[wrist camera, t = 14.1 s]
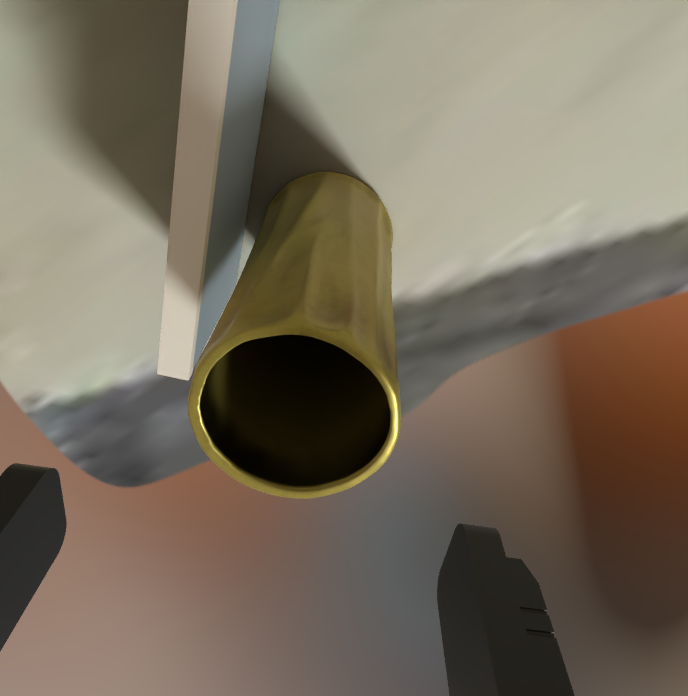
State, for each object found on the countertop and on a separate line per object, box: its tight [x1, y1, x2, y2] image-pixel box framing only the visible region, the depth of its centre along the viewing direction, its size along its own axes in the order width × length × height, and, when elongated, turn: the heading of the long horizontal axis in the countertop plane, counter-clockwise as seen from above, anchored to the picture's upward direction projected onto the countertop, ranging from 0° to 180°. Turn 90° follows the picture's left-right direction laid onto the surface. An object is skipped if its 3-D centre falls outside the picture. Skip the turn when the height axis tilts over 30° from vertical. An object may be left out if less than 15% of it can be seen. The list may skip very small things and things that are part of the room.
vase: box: [187, 172, 401, 499], centre depth 19 cm, size 6×6×14 cm
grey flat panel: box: [157, 0, 280, 380], centre depth 19 cm, size 14×1×9 cm, turn 166°
